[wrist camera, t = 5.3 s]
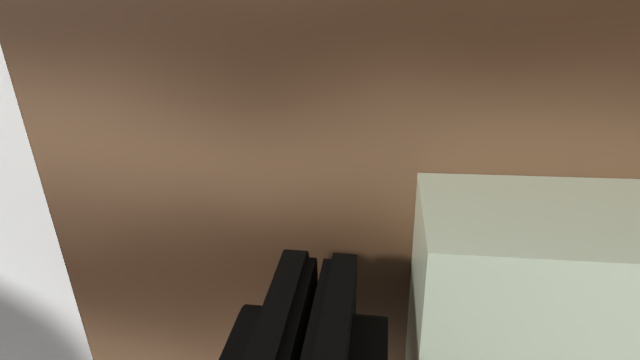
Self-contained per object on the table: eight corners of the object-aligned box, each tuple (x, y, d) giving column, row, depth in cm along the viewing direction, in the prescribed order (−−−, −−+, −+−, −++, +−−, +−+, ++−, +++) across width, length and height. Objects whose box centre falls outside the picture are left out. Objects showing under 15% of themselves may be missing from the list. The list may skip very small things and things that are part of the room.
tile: (646, 397, 11) (724, 530, 9) (404, 375, 12) (408, 491, 10) (732, 182, 9) (879, 277, 6) (417, 172, 10) (427, 253, 7)
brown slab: (651, 395, 19) (752, 567, 14) (192, 344, 22) (125, 471, 16) (880, -116, 11) (1330, -188, 6) (120, -101, 14) (-54, -142, 8)
